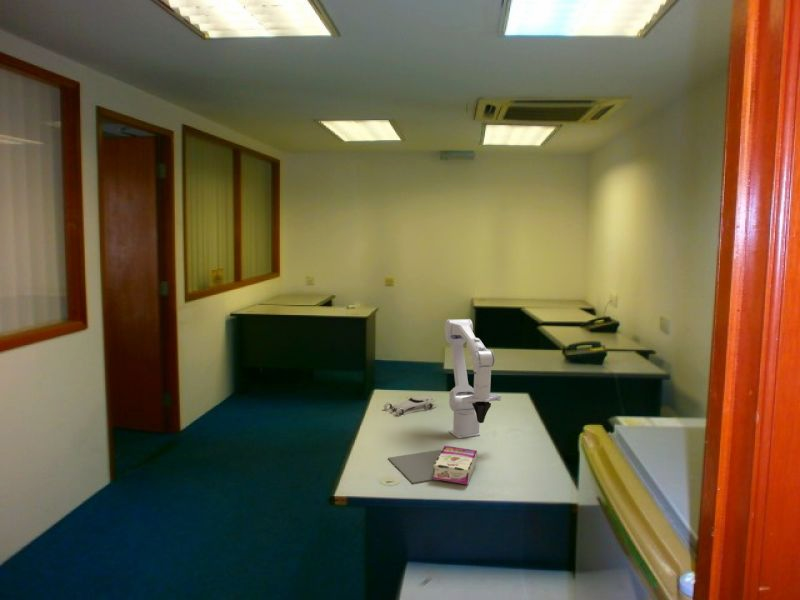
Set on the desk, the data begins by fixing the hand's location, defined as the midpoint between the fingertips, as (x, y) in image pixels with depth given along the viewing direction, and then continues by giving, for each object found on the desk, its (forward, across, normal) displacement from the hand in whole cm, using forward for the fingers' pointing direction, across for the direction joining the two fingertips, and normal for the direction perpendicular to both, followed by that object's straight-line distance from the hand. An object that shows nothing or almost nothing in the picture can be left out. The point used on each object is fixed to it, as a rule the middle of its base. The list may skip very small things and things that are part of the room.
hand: (480, 422), depth 199 cm
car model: (+11, -4, +50) cm, 51 cm away
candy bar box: (+7, -12, -8) cm, 16 cm away
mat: (+10, -23, -6) cm, 26 cm away
